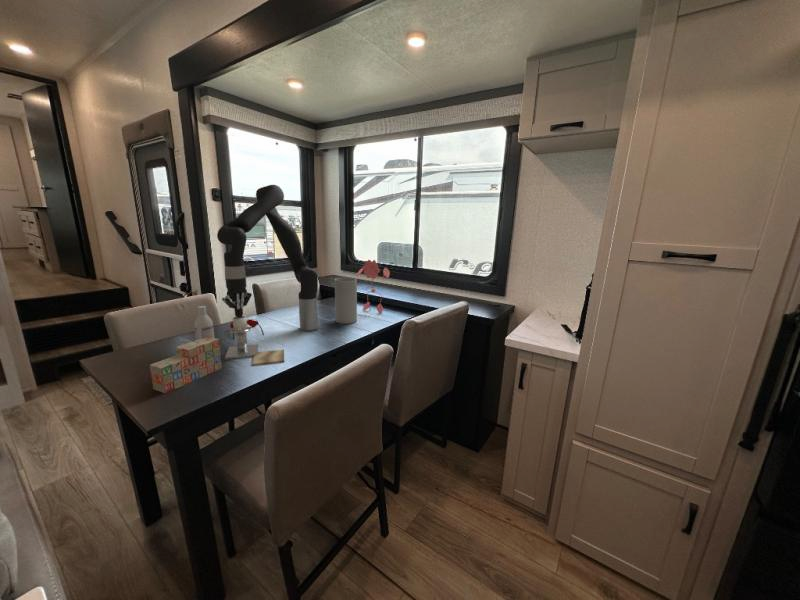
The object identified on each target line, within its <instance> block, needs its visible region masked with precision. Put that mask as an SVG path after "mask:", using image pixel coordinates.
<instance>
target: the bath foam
mask: <svg viewBox="0 0 800 600" xmlns="http://www.w3.org/2000/svg"><path fill="white" fill-rule="evenodd" d="M197 314H198V315H197V317H196V319H195V320H194V325H193V326H194V334H195V335H194V336H195V340H198V339H203V338H206V337H211V338H215V329H214V323H213V320H212V319H211V318H210V316H209V315H208V314H207V308H206V306H205V305H200V306H197Z"/></svg>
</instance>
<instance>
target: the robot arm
mask: <svg viewBox="0 0 800 600" xmlns="http://www.w3.org/2000/svg"><path fill="white" fill-rule="evenodd" d="M255 197H256V200H257V201H256V202H255V203H254V204H251V205H250V206H248V207H247V208H246V209H244V210H243V211H241V213H239V215H237V217H236V218H235V219H233V220H231V221H229V222H227V223H226V224H223V225H222V226H221V227H220V228H219V229H218V230H217V235H216V236H217V237H216V238H217V240H218V241H219V243H221V244H222V245H226V246H227V245H229V246H231V249H230V250H227V251H225V252H224V254H223V260H224V262H223V263H224V278H225V288H226V290H227V291H226V295H225V297H222V298H221V299H222V300H221V301H222V302H224V304H225V305H227V306H228V308H230V309H234V315H235V316H234V317H242V316H244V307H245V306H247V305H248V303H249V301H250V300H251V297H252V295H253V294H252V292H251V293H250V292H248V291H247V276H246V275H247V274H246V269H245V262H244V253H245V249H246V244H247V235H246V233H249V232H251V231H252V229H253V228H255V226H256V225H258V223H259V222H260V221H261V219H263V218H264V217H265V216H266V218H267V220H268V222H269V224H270V226H271V228H272V229H273V230H274V233H275V235H276V237H277V239H278V242H279V244H280V246H281V248H282V250H283V251H284V254H285V256H286V257H287V260H288V262H289V263H290V264H291V265H290V266H291V267H292V271H293V274H294V277H295V279H296V281H297V282H298V283H300V291H299V292H298V314H299V330H300V331H304V332H309V331H310V332H312V331H315V330H318V329H319V317H318V315H319V313H318V302H317V294H318V292H319V291H318V289H319V287H318V286H319V277H318V273H317V271H316V270H314V269H313V268H310V267H309V265H308V264H307V262H306V260H305V258H304V256H303V251H302V244H301V241H300V238H299V236H298V234H297V231H296V229H295V228H294V227H293V226H292V225H291V224H290V223H289V222H288V221H286V220H285V218H283V217H282V215H281V214H280V213H279V211H278V209H277V207H278V206H279V205H281V204H282V203H283V202H284V199H285V194H284V190H283V189H282V188H281V187H280V186H279V185H277V184H269V185H265V186H262V187H260V188H258V189H257V190H256V192H255Z"/></svg>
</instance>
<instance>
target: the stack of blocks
mask: <svg viewBox="0 0 800 600" xmlns="http://www.w3.org/2000/svg"><path fill="white" fill-rule="evenodd" d="M175 349H176V354H175V355H174V356H171V357H168V358H163V359H162V360H160V361H156V362H153V363H151V364H149V370H150V378H151V383H152V388H153V390H155V391H157V392H160V393H163V394H167V393H169V392H172V391H173V390H176V389H178V388H180V387H183V386H185V385H187V384H190V383H192V382H194V381H196V380H198V379H201V378H203V377H206V376H207V374H208V375H210V374H212V373H215V372H217V371H219V370H221V369H223V366H222V365H223V362H222V355H221V353H222V352H221V345H220V339H219V338H211V337H206V338H203V339H198V340H196V339H195V340H193V341H190V342H187V343H185V344H182V345H178V346H176V348H175Z"/></svg>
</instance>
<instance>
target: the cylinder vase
mask: <svg viewBox="0 0 800 600" xmlns="http://www.w3.org/2000/svg"><path fill="white" fill-rule="evenodd" d="M357 281H358V279H357V278H355V277H337V278H334V307H335V308H334V312H335V313H334V316H335V322H336V323H337V324H343V325H347V324H348V325H350V324H354V323H356V322H357V321H358V309H357V308H358V307H357V305H358V287H357V286H358V284H357V283H358V282H357Z"/></svg>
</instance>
